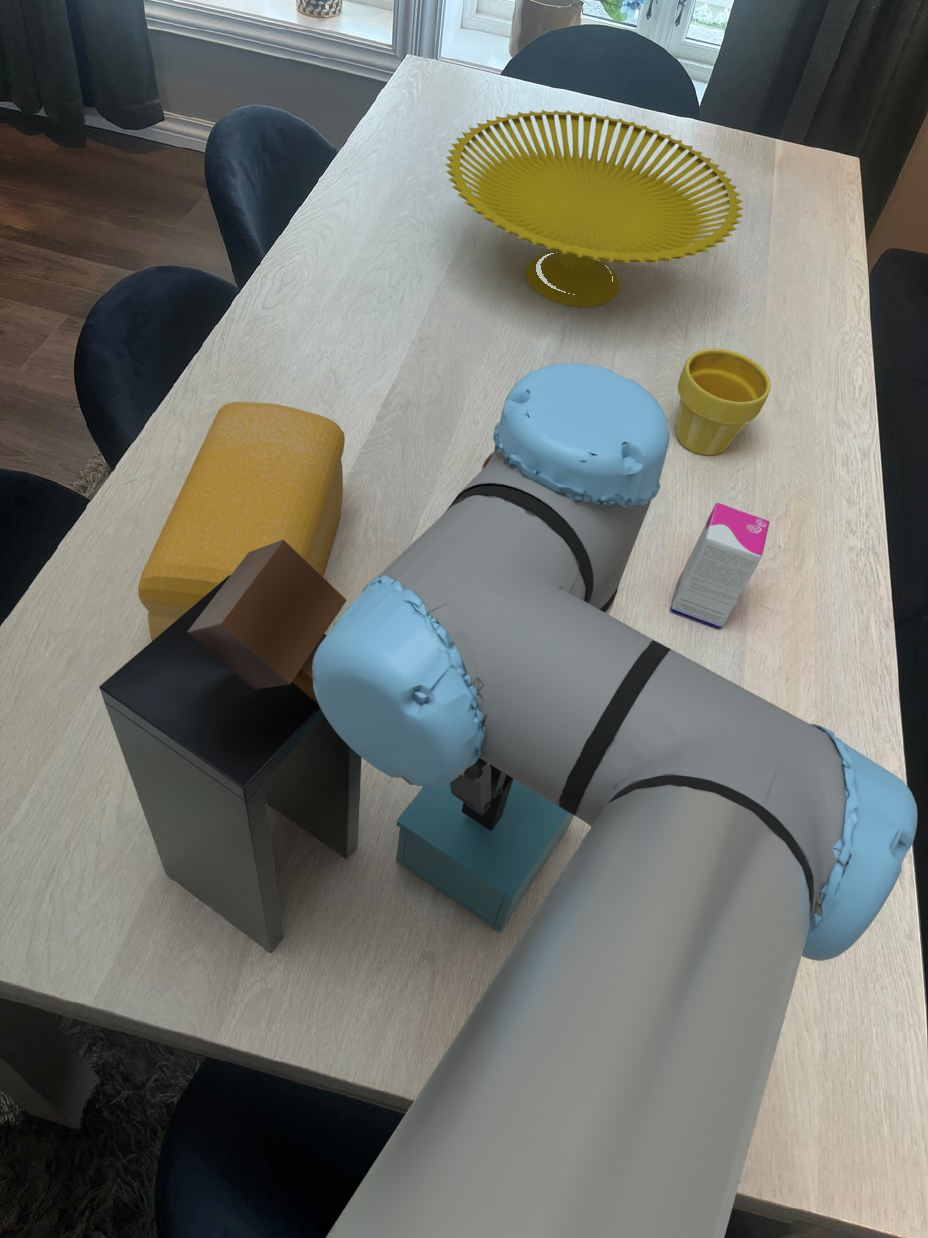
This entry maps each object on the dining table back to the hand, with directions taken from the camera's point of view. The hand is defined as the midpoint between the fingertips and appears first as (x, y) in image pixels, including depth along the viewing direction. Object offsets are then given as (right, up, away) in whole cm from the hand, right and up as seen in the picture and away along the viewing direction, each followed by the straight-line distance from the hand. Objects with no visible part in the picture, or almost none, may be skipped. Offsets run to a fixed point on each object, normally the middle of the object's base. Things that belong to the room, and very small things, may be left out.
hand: (481, 814), depth 70 cm
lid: (+1, 0, +3) cm, 3 cm away
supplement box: (+24, +16, +29) cm, 41 cm away
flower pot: (+28, +37, +46) cm, 66 cm away
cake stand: (+15, +64, +66) cm, 93 cm away
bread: (-22, +18, +24) cm, 38 cm away
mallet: (-10, +11, -15) cm, 21 cm away
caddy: (0, -4, +9) cm, 10 cm away
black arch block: (-18, -5, +6) cm, 20 cm away
